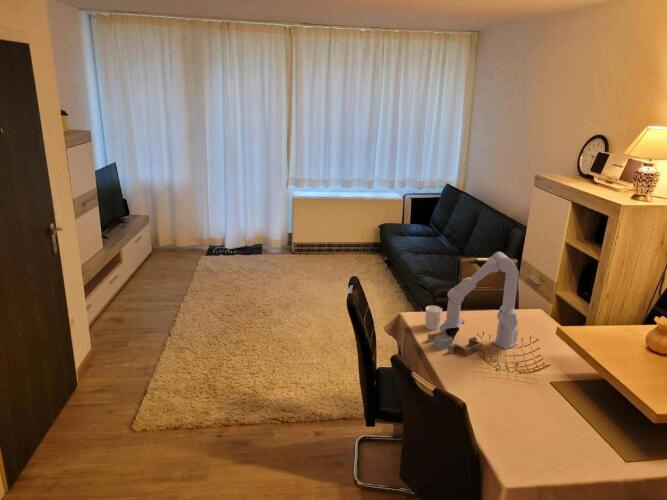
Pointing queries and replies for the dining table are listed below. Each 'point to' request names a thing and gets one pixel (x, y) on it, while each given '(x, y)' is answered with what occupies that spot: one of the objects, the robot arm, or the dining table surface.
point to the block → (442, 341)
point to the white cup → (433, 317)
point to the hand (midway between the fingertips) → (450, 341)
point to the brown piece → (457, 348)
